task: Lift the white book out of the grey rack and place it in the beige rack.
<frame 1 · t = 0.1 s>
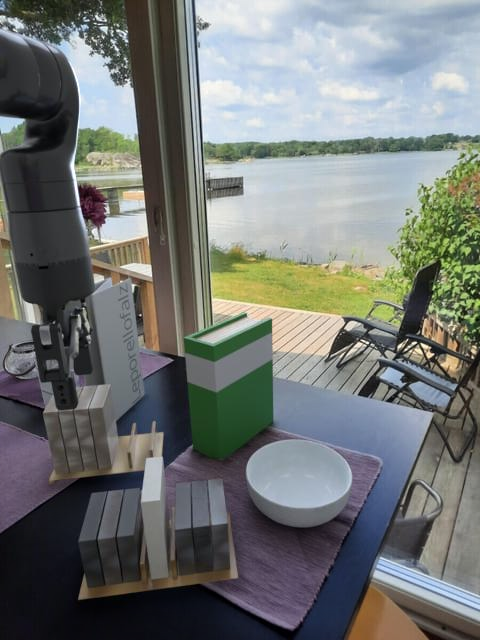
hand: (76, 389, 52), 29 cm above the table, tool pointing down, fingers open, 8 cm apart
cereal bowl: (297, 505, 73), on the table
beige rack: (116, 458, 87), on the table
grey rack: (162, 556, 64), on the table
syrup box: (62, 407, 107), on the table
brochure: (119, 407, 105), on the table
hardback book: (235, 435, 93), on the table
white book: (161, 551, 64), point 1 cm above the table, touching grey rack
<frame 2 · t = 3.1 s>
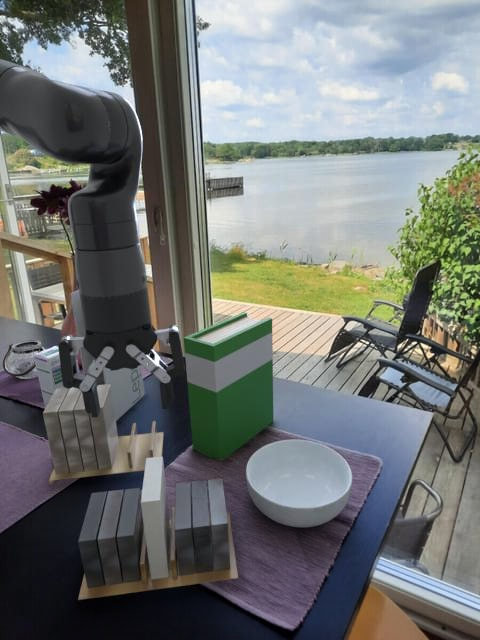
hand: (131, 410, 55), 25 cm above the table, tool pointing down, fingers open, 8 cm apart
nothing on the table moved.
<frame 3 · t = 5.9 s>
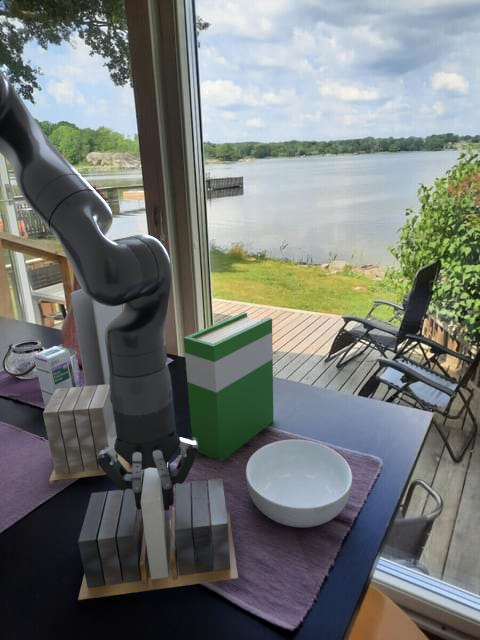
hand: (155, 506, 61), 9 cm above the table, tool pointing down, fingers closed on white book, 2 cm apart
white book: (161, 551, 64), point 1 cm above the table, touching grey rack, gripper
everything else where it was.
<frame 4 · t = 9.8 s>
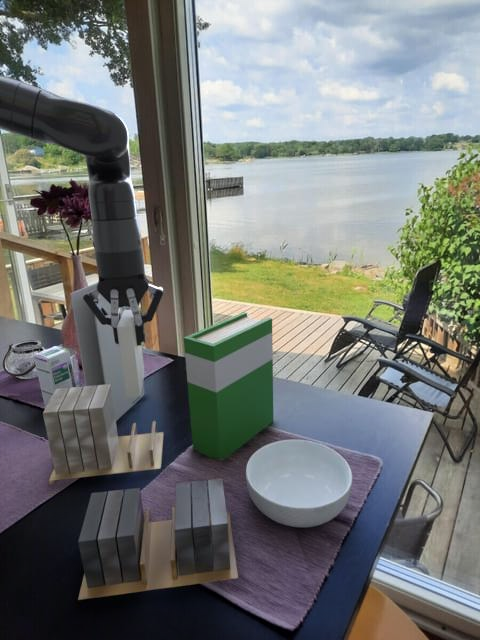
hand: (130, 344, 77), 25 cm above the table, tool pointing down, fingers closed on white book, 2 cm apart
white book: (136, 385, 80), point 16 cm above the table, touching gripper
everything else where it was.
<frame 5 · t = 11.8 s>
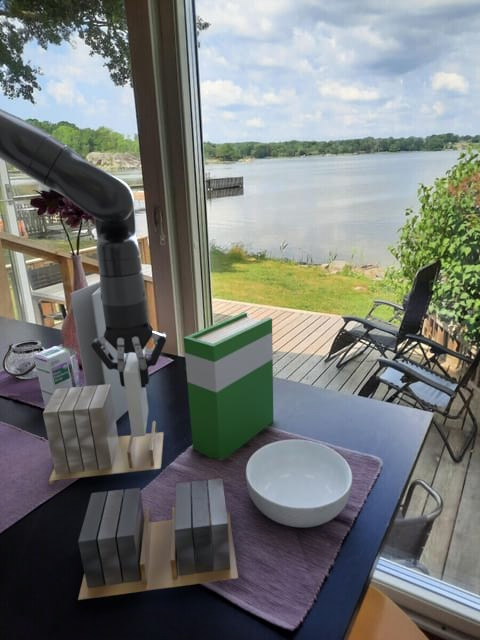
hand: (135, 386, 82), 15 cm above the table, tool pointing down, fingers closed on white book, 2 cm apart
white book: (140, 423, 85), point 7 cm above the table, touching gripper
everything else where it was.
when the fingers open (9 cm above the table, at t = 13.6 s): white book stays where it is, resting on beige rack.
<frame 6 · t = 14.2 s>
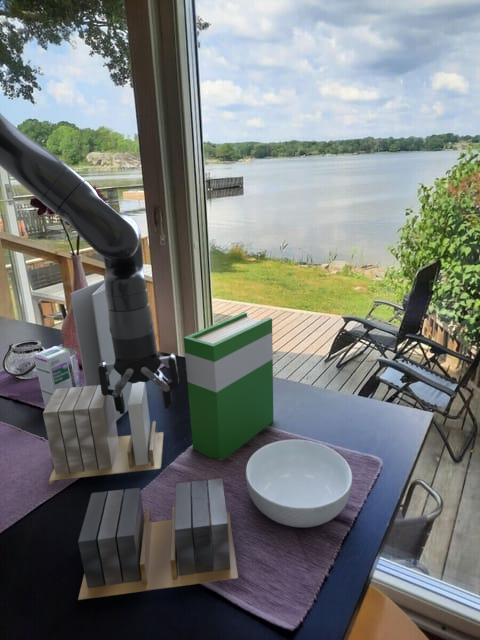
hand: (144, 409, 84), 10 cm above the table, tool pointing down, fingers open, 8 cm apart
white book: (144, 450, 87), point 1 cm above the table, touching beige rack
everything else where it was.
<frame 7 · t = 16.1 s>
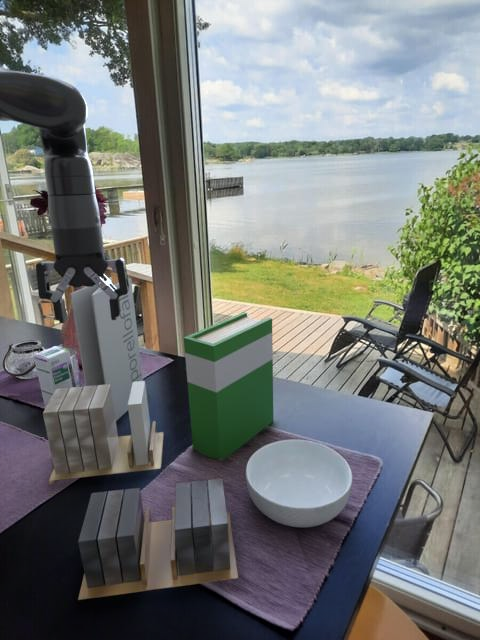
hand: (89, 320, 75), 29 cm above the table, tool pointing down, fingers open, 8 cm apart
nothing on the table moved.
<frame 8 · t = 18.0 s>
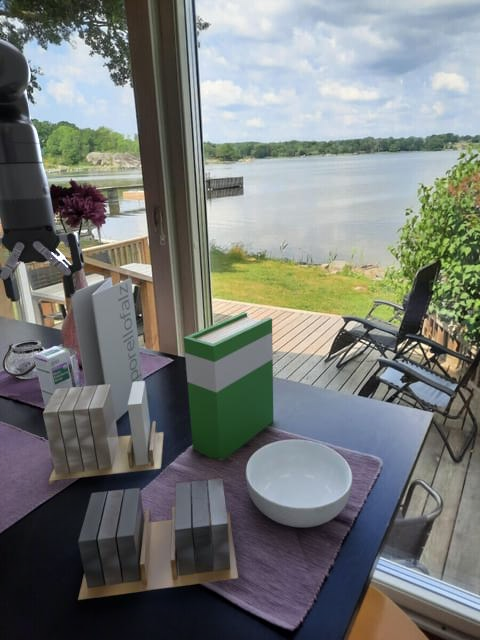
hand: (43, 298, 72), 34 cm above the table, tool pointing down, fingers open, 8 cm apart
nothing on the table moved.
at the end: white book 0.1 cm from the target spot on the beige rack, point 1.0 cm above the beige rack's base; white book tilted 0°; the gripper is holding nothing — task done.
